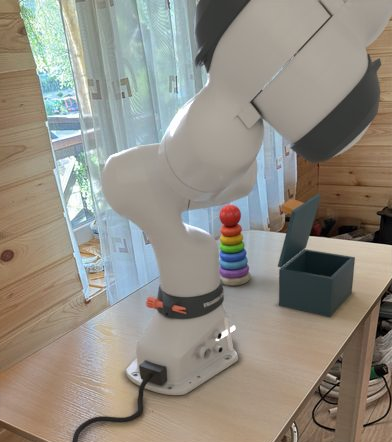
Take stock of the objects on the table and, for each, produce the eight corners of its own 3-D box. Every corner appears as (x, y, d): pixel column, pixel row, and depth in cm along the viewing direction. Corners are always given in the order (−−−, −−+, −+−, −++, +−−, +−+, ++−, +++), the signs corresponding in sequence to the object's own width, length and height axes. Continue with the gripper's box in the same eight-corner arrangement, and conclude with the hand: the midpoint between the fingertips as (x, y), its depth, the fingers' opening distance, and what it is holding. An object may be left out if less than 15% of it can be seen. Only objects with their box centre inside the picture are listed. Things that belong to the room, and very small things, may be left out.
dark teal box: (351, 293, 117) (355, 257, 112) (329, 317, 109) (332, 279, 104) (303, 283, 123) (304, 248, 119) (278, 305, 115) (279, 269, 110)
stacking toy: (250, 272, 131) (248, 199, 121) (250, 286, 124) (248, 209, 114) (219, 273, 132) (215, 201, 122) (217, 287, 125) (213, 211, 115)
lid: (321, 194, 110) (301, 187, 112) (295, 212, 101) (274, 203, 103) (306, 247, 118) (287, 240, 120) (280, 267, 110) (261, 259, 111)
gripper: (291, 68, 103) (290, 141, 110) (332, 73, 86) (328, 160, 93) (321, 65, 104) (318, 138, 111) (368, 69, 86) (361, 155, 93)
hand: (323, 148), depth 102 cm, fingers open, 8 cm apart
